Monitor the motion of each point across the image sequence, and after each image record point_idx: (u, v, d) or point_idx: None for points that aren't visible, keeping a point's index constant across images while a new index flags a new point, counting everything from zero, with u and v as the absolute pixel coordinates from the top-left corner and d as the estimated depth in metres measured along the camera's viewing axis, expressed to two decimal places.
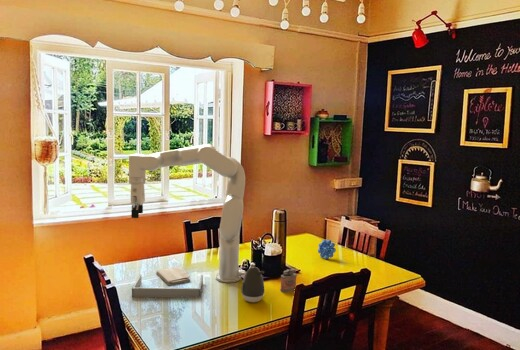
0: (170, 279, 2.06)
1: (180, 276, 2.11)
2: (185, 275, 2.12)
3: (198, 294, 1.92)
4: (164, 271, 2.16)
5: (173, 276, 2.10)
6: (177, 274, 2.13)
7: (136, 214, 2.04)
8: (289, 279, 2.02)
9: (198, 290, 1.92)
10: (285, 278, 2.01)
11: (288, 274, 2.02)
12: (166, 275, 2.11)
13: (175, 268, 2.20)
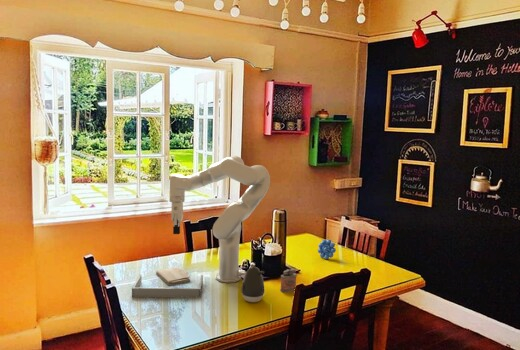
0: (170, 279, 2.06)
1: (180, 276, 2.11)
2: (185, 275, 2.12)
3: (198, 294, 1.92)
4: (164, 271, 2.16)
5: (173, 276, 2.10)
6: (177, 274, 2.13)
7: (177, 230, 2.22)
8: (289, 279, 2.02)
9: (198, 290, 1.92)
10: (285, 278, 2.01)
11: (288, 274, 2.02)
12: (166, 275, 2.11)
13: (175, 268, 2.20)
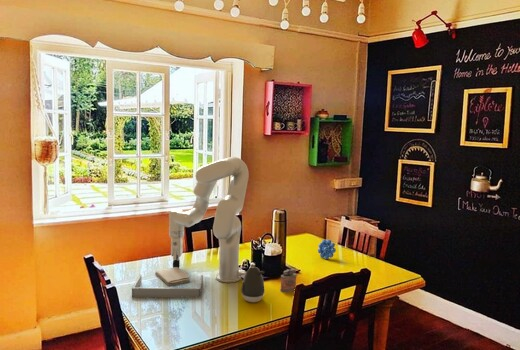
0: (169, 279, 2.06)
1: (180, 276, 2.10)
2: (184, 275, 2.11)
3: (198, 294, 1.92)
4: (163, 272, 2.15)
5: (172, 276, 2.09)
6: (176, 274, 2.12)
7: (177, 265, 2.24)
8: (289, 279, 2.02)
9: (198, 290, 1.92)
10: (285, 278, 2.01)
11: (288, 274, 2.02)
12: (165, 275, 2.10)
13: (174, 268, 2.20)
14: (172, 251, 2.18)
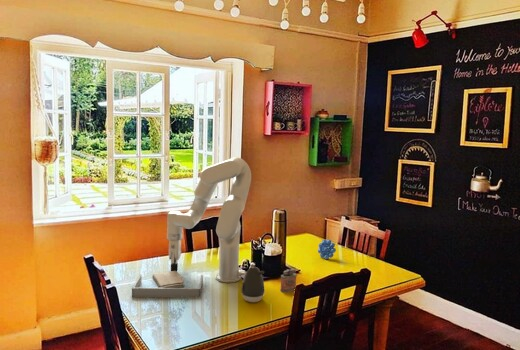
0: (162, 283, 2.01)
1: (174, 281, 2.04)
2: (179, 280, 2.05)
3: (198, 294, 1.92)
4: (160, 275, 2.11)
5: (167, 280, 2.04)
6: (172, 278, 2.07)
7: (175, 268, 2.18)
8: (289, 279, 2.02)
9: (198, 290, 1.92)
10: (285, 278, 2.01)
11: (288, 274, 2.02)
12: (160, 279, 2.05)
13: (172, 272, 2.15)
14: (170, 254, 2.13)
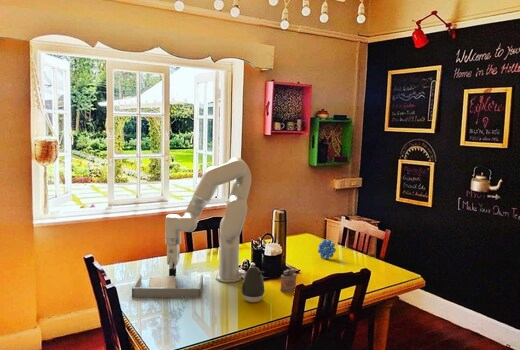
0: None
1: (165, 286, 1.97)
2: (171, 286, 1.98)
3: (198, 294, 1.92)
4: (155, 279, 2.05)
5: (158, 285, 1.98)
6: (165, 284, 2.00)
7: (173, 273, 2.11)
8: (289, 279, 2.02)
9: (198, 290, 1.92)
10: (285, 278, 2.01)
11: (288, 274, 2.02)
12: (153, 283, 2.00)
13: (169, 277, 2.08)
14: (168, 259, 2.06)
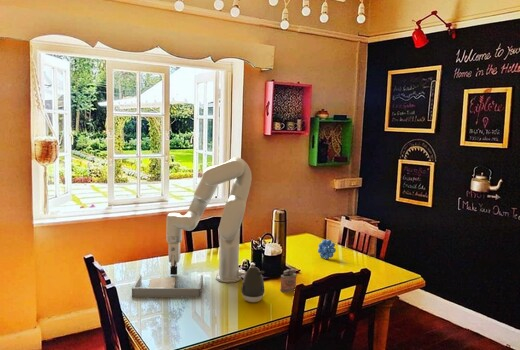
0: None
1: None
2: (169, 287, 1.96)
3: (198, 294, 1.92)
4: (155, 280, 2.05)
5: (157, 286, 1.97)
6: (164, 285, 1.99)
7: (175, 271, 2.15)
8: (289, 279, 2.02)
9: (198, 290, 1.92)
10: (285, 278, 2.01)
11: (288, 274, 2.02)
12: (152, 284, 1.99)
13: (169, 278, 2.07)
14: (170, 257, 2.10)
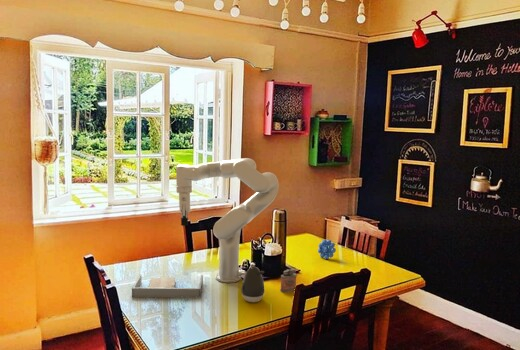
0: None
1: None
2: (169, 287, 1.96)
3: (198, 294, 1.92)
4: (155, 280, 2.05)
5: (157, 286, 1.97)
6: (164, 285, 1.99)
7: (186, 222, 2.18)
8: (289, 279, 2.02)
9: (198, 290, 1.92)
10: (285, 278, 2.01)
11: (288, 274, 2.02)
12: (152, 284, 1.99)
13: (169, 278, 2.07)
14: (181, 207, 2.13)
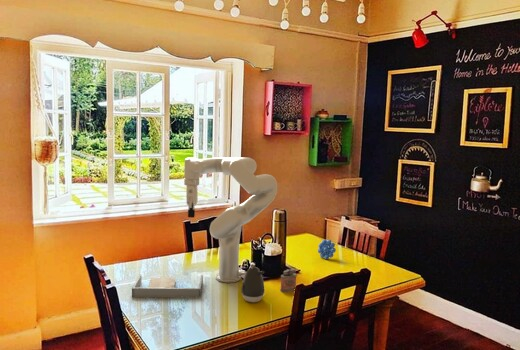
0: None
1: None
2: None
3: (198, 294, 1.92)
4: (155, 280, 2.05)
5: (157, 286, 1.97)
6: (164, 285, 1.99)
7: (192, 214, 2.23)
8: (289, 279, 2.02)
9: (198, 290, 1.92)
10: (285, 278, 2.01)
11: (288, 274, 2.02)
12: (152, 284, 1.99)
13: (169, 278, 2.07)
14: (188, 199, 2.18)
